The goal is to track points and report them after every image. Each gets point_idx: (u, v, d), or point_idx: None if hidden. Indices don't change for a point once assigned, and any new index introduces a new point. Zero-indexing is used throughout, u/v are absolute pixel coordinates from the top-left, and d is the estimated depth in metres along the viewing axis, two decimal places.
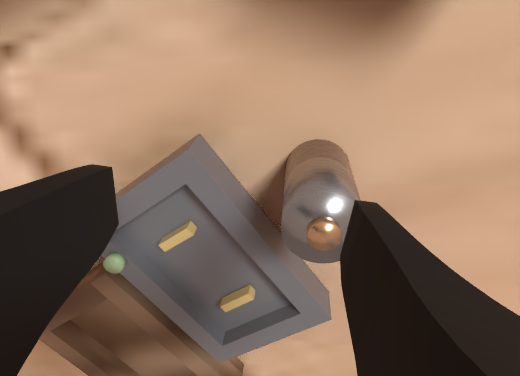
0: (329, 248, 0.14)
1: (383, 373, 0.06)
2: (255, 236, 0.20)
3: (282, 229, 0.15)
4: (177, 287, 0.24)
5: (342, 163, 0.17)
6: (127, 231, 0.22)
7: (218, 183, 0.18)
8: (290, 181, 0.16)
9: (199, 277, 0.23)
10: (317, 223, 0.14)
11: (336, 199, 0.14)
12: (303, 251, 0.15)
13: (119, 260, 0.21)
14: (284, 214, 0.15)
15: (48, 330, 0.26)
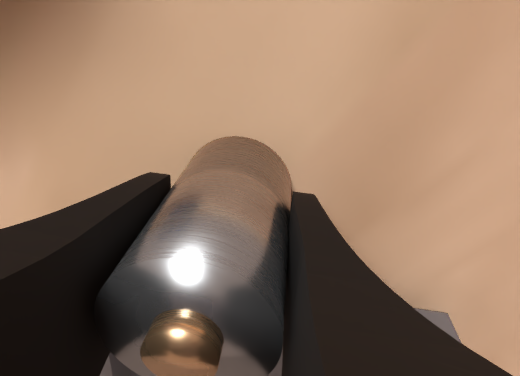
0: (212, 369, 0.06)
1: (289, 358, 0.06)
2: None
3: (142, 375, 0.07)
4: None
5: (205, 169, 0.09)
6: None
7: None
8: None
9: None
10: (141, 346, 0.06)
11: (129, 279, 0.06)
12: None
13: None
14: (118, 352, 0.07)
15: None
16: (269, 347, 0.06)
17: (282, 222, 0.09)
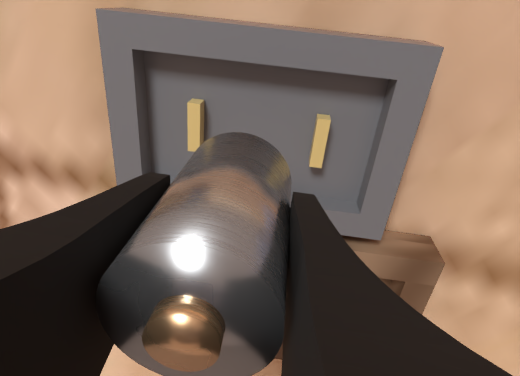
0: (214, 354, 0.06)
1: (289, 358, 0.06)
2: (244, 32, 0.14)
3: (144, 365, 0.07)
4: None
5: (205, 162, 0.09)
6: (165, 170, 0.19)
7: (155, 14, 0.14)
8: None
9: None
10: (143, 333, 0.06)
11: (130, 265, 0.06)
12: (215, 371, 0.07)
13: None
14: (120, 342, 0.07)
15: None
16: (271, 333, 0.06)
17: (282, 213, 0.09)
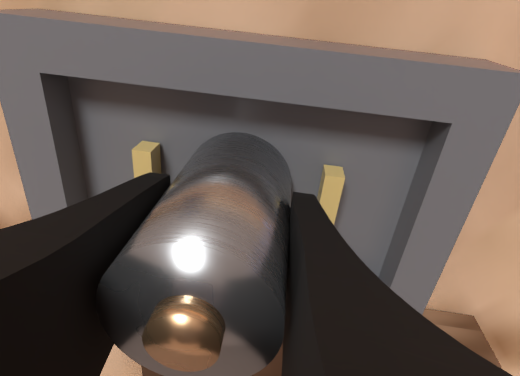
0: (214, 354, 0.06)
1: (289, 358, 0.06)
2: (210, 49, 0.09)
3: (145, 365, 0.07)
4: None
5: (205, 162, 0.09)
6: None
7: (70, 20, 0.09)
8: None
9: None
10: (143, 333, 0.06)
11: (130, 265, 0.06)
12: (215, 371, 0.07)
13: None
14: (120, 342, 0.07)
15: None
16: (271, 332, 0.06)
17: (282, 213, 0.09)
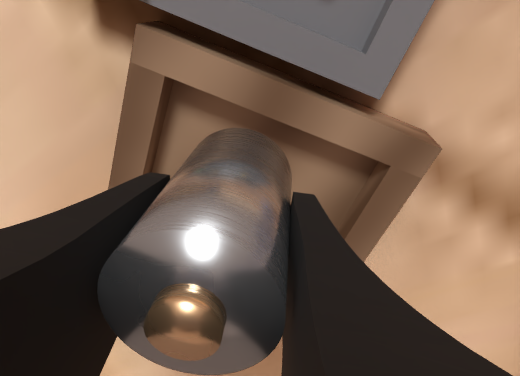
0: (215, 342, 0.06)
1: (289, 358, 0.06)
2: None
3: (147, 357, 0.07)
4: (249, 5, 0.15)
5: (204, 156, 0.09)
6: None
7: None
8: None
9: None
10: (145, 322, 0.06)
11: (130, 254, 0.06)
12: (217, 362, 0.07)
13: None
14: None
15: None
16: (272, 320, 0.06)
17: (282, 204, 0.09)
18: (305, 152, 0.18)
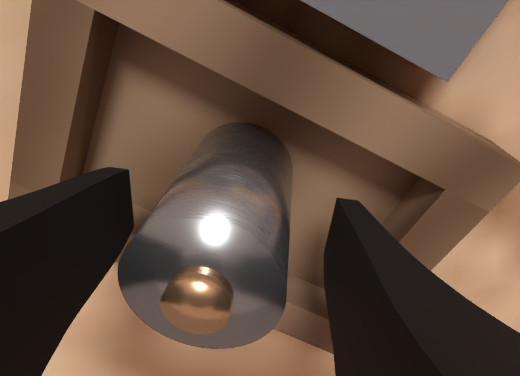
0: (224, 317, 0.07)
1: (355, 369, 0.06)
2: None
3: (162, 332, 0.08)
4: None
5: (211, 149, 0.10)
6: None
7: None
8: None
9: None
10: (161, 300, 0.07)
11: (148, 240, 0.07)
12: (225, 336, 0.08)
13: None
14: (139, 312, 0.08)
15: None
16: (275, 299, 0.07)
17: (284, 194, 0.09)
18: (312, 157, 0.12)
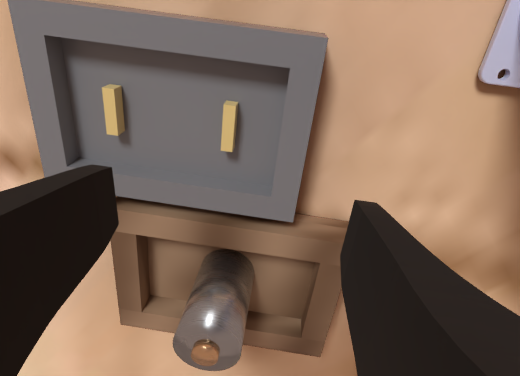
0: (216, 357, 0.17)
1: (383, 373, 0.06)
2: (146, 21, 0.15)
3: (199, 368, 0.19)
4: (182, 174, 0.20)
5: (202, 277, 0.21)
6: (91, 154, 0.20)
7: (63, 2, 0.15)
8: None
9: (184, 142, 0.19)
10: (191, 356, 0.18)
11: (180, 334, 0.18)
12: (224, 364, 0.18)
13: None
14: (188, 361, 0.19)
15: (140, 312, 0.24)
16: (234, 344, 0.18)
17: (238, 291, 0.20)
18: (258, 256, 0.22)
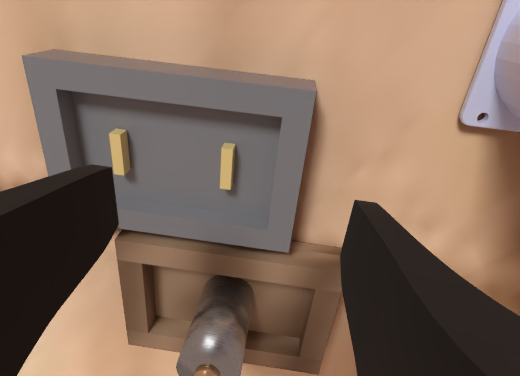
0: None
1: (383, 373, 0.06)
2: (148, 77, 0.16)
3: None
4: (184, 207, 0.21)
5: (204, 302, 0.22)
6: None
7: (73, 60, 0.16)
8: None
9: (185, 179, 0.20)
10: None
11: (183, 359, 0.19)
12: None
13: None
14: None
15: (147, 333, 0.25)
16: (234, 369, 0.19)
17: (237, 316, 0.21)
18: (257, 280, 0.24)
